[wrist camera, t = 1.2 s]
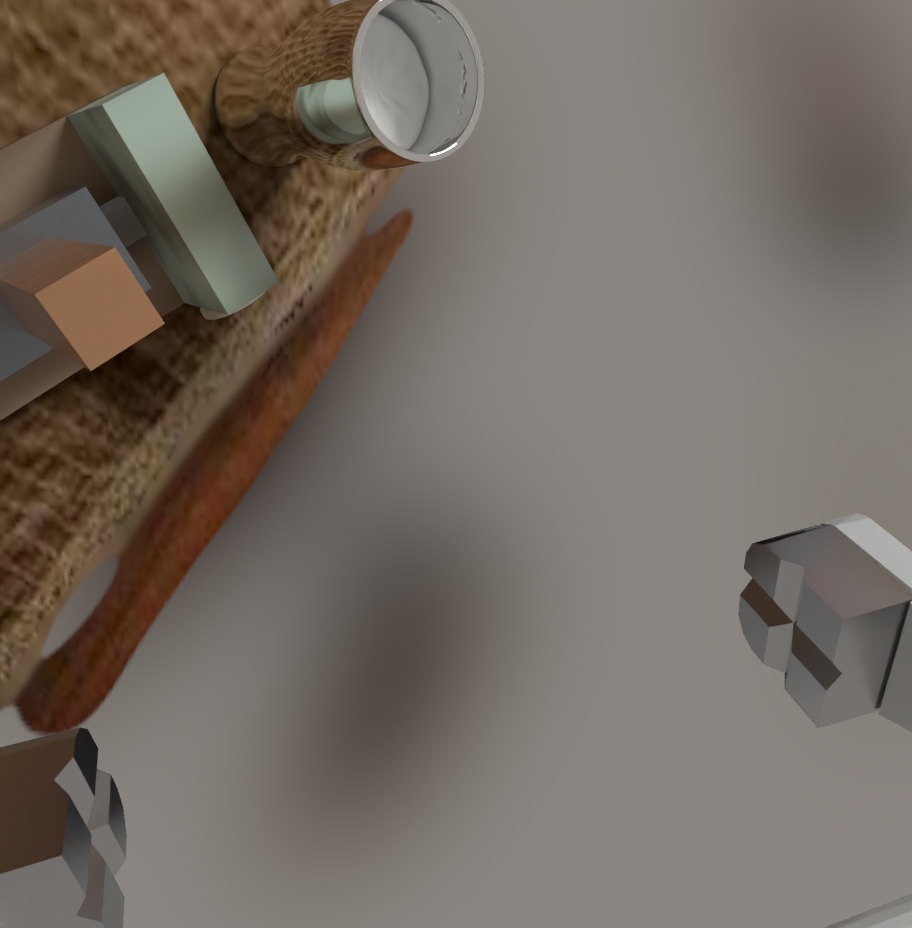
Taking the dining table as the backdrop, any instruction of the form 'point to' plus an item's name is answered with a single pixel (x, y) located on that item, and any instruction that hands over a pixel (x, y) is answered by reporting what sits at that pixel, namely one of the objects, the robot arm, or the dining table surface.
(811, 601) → the robot arm
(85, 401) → the dining table surface
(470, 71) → the beer glass
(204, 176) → the rail track
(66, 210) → the carriage
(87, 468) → the dining table surface
